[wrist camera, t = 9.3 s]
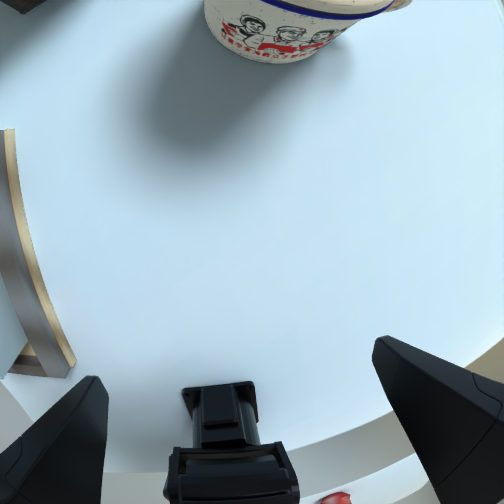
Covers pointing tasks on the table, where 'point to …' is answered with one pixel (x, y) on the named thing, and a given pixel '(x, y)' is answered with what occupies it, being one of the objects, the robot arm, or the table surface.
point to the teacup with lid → (286, 24)
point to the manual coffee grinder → (23, 4)
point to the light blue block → (9, 332)
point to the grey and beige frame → (27, 279)
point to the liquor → (337, 498)
